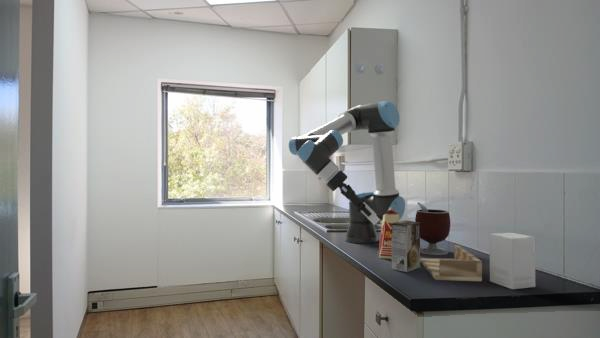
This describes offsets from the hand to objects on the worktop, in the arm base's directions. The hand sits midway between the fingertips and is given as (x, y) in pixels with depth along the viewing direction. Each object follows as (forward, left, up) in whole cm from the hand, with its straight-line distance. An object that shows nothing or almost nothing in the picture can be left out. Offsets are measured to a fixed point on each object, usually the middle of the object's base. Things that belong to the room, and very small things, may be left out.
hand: (375, 219), depth 135 cm
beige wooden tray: (+1, +24, -17) cm, 30 cm away
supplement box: (+15, +39, -17) cm, 46 cm away
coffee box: (0, +10, -17) cm, 20 cm away
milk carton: (-18, +7, -17) cm, 26 cm away
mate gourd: (-29, +25, -17) cm, 42 cm away
